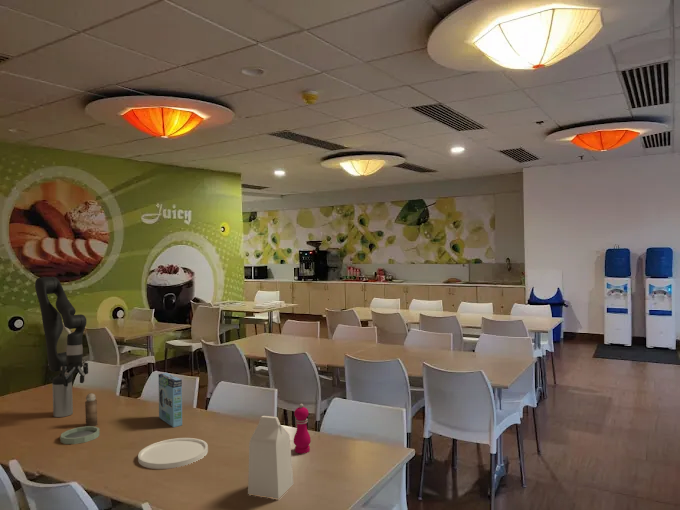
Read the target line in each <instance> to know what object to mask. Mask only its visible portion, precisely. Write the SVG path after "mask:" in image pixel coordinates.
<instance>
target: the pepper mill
mask: <svg viewBox="0 0 680 510" xmlns="http://www.w3.org/2000/svg"><path fill="white" fill-rule="evenodd" d="M309 412H310V411H309V410H308V408H306V406H304V404H303V403H300V404H299V405H298V407H297V408H296V409H295V410H294V417H295V423H296V431H295V433H294V438H293V444H294V445H295V447H294V451H295V453H296V454H301V455H302V454H303V453H304V454H307V452H308V453H309V452H310V451H311V449H310V448H311V447H310V443H311V442H312V440H311V438H312V437H311V435H310V433H309V431H308V426H307V423H308V422H309V421H308V417H309ZM304 454H303V455H304Z"/></svg>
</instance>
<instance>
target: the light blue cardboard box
mask: <svg viewBox="0 0 680 510" xmlns="http://www.w3.org/2000/svg"><path fill="white" fill-rule="evenodd" d="M157 375H158V419H160V420H162V421H163V422H165V423H166V424H168V425H169V426H171V427H172V428H177V427H181V426H183V391H182V390H183V389H182V388H183V387H182V386H183V384H182V383H183V382H182V378H179V377H177V376H175V375H173V374H170V373H168V372H163V373H158V374H157Z"/></svg>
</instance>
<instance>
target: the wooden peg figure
mask: <svg viewBox="0 0 680 510" xmlns="http://www.w3.org/2000/svg"><path fill="white" fill-rule="evenodd" d="M85 400H86V401H84V404H85V405H84V407H85V409H84V411H85V412H84V413H85V426H95V427H97V426H98V403H97V402H98V401H97V399H96V394H95V393H94V392H93V393H92V392H90V393H89V392H88V394H87V395H86V397H85Z"/></svg>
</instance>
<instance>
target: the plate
mask: <svg viewBox="0 0 680 510" xmlns="http://www.w3.org/2000/svg"><path fill="white" fill-rule="evenodd" d="M208 445H209V444H208V443H207V442H206V440H202V439H200V438H193V437H177V438H169V439H164V440H161V441H158V442H154V443H151V444H148V445H147V446H145V447H144V448H142V449H141V450H140V451H139V452H138V455H137V462H138V464H139V465H140V466H142V467H144V468H147V469H150V470H151V469H153V470H169V469H177V468H182V467H186V466H189V465H192V464H194V463H193V462H195V463H197V462H199V461H200V459H201V460H202V459H203V458H205V457H206V456H207V454H208V453H209V446H208ZM204 456H205V457H204ZM198 460H199V461H198ZM196 461H197V462H196ZM191 463H192V464H191ZM188 464H189V465H188ZM185 465H186V466H185ZM181 466H182V467H181ZM176 467H177V468H176Z"/></svg>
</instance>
